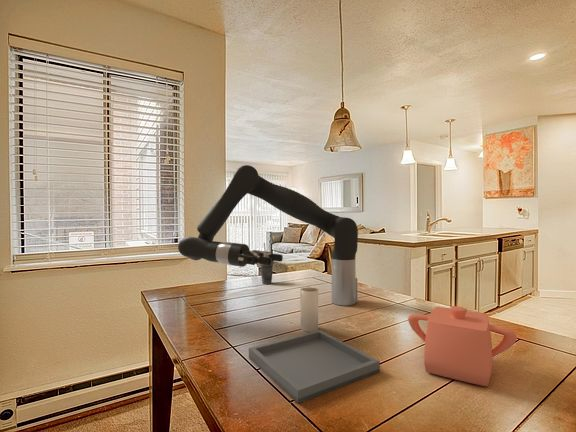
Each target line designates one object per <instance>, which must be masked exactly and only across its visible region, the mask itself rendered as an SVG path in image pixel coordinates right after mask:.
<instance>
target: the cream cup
mask: <svg viewBox="0 0 576 432" xmlns="http://www.w3.org/2000/svg"><path fill="white" fill-rule="evenodd" d="M299 295H300V296H299V299H300V301H299V303H300V304H299V307H300V309H299V310H300V311H299V313H300V318H299V319H300V320H299V321H300V327H299V328H300V330H301V331H302V332H305V333H310V332H314V331H318V330H319V288H316V287H311V286H309V287H302V288H300V289H299Z"/></svg>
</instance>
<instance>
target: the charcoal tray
mask: <svg viewBox="0 0 576 432" xmlns="http://www.w3.org/2000/svg"><path fill="white" fill-rule="evenodd" d="M248 359H249V360H251V362H253V363H254V364H255V365H256V366H257V367H258V368H259V369H260V370H261V371H262V372H263V373H264V374H266V376H267V377H268V378H269V379H270V380H272V381H273V382H274V383H275V384H276V385H277V386H278V387H279V388H280V389H282V390H283V391H284V392H285V393H286V394H287V395H288V396H289V397H290V398H291V399H292V400H293V401H294V402H295V403H297V404H298V405H299V404H300V403H304V402H306V401H309V400H311V399H314V398H316V397H319V396H322V395H324V394H326V393H327V394H328V393H329V392H332V391H334V390H337V389H339V388H343V387H345V386H347V385H350V384H353V383H356V382H357V381H361V380H363V379H366V378H368V377H371V376H373V375H377V374H378V373H381V361H380V360H378V359H377V358H375V357H373V356H371V355H369V354H367V353H365V352H363V351H361V350H359V349H357V348H355V347H354V346H352V345H350V344H348V343H346V342H344V341H343V340H340V339H339V338H337V337H335V336H332V335H330V334H329V333H327V332H325V331H323V330H321V329H318V330H317V331H314V332H305V333H302V334H299V335H294V336H291V337H286V338H283V339H278V340H275V341H270V342H267V343H263V344H259V345H255V346H250V347H248Z"/></svg>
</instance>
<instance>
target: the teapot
mask: <svg viewBox="0 0 576 432" xmlns="http://www.w3.org/2000/svg"><path fill="white" fill-rule="evenodd" d="M407 320H408V321H407V322H408V324H409V326H410V327H411V329H412V331H414V333H415V334H416V335H417V336H418V337H419V338H420V339H421V340H422V341H423V342H424V352H423V354H424V356H423V360H424V368H425V371H426V373H429V374H433V375H437V376H439V377H443V378H448V379H453V380H457V381H460V382H464V383H468V384H474V385H477V386H481V387H488V386H489V385H490V381H491V376H492V371H493V363H494V361H493V360H494V357H497V356H498V355H501V354H502V353H504V352H505V351H507V350H508V349H510V348H511V347H513V345H514V344H515V343H516V342H517V339H518V336H517V333H516V332H514V331H513V330H512V329H509V328H506V327H502V326H499V325H492V324H490V319H489V315H488V314H487V313H485V312H480V311H479V312H477V311H473V310H468V309H467V308H465V307H463V306H458V305H457V306H456V305H455V306H450V307H444V306H435V307H434V308H433V309H432V310H431V312H430V314H429V315H428V314H421V313H414V314H410V315H409V316H408V317H407ZM419 321H427V323H426V329H425V330H426V331H425V332H424V331H423V329H422V328H421V326H420V324H419ZM491 332H493V333H499V334H501V335H502V336H503V338H502V340H500V343H499V344H497V346H495V347H494V348H493V343H492V334H491Z"/></svg>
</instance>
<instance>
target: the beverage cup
mask: <svg viewBox="0 0 576 432" xmlns="http://www.w3.org/2000/svg"><path fill="white" fill-rule="evenodd" d="M263 247H264V251H266V243H265V242H263ZM267 257H269V255H267ZM274 263H275V261H272V264H271V265H264V264H259V265H260V273H261V276H260V277H261V282H262V283H261V284H262V285H272V280H273V271H274V270H273V269H274Z"/></svg>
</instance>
